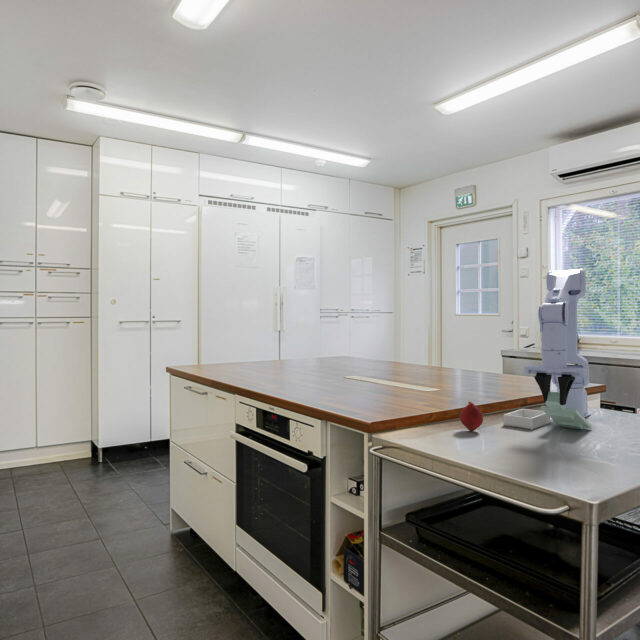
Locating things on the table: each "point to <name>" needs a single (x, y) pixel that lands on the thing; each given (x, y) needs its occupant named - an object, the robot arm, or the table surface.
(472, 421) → the onion
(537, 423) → the tub
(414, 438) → the table surface
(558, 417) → the lid
